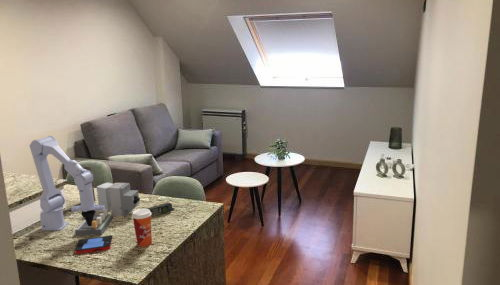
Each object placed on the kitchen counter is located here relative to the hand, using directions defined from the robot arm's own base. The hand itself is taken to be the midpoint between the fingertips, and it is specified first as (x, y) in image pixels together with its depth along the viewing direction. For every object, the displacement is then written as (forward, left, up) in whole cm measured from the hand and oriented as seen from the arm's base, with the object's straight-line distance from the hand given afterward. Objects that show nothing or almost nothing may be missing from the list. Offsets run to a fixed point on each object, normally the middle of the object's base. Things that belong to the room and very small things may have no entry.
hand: (90, 225), depth 186 cm
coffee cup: (+27, -11, -4) cm, 30 cm away
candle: (-16, +38, -4) cm, 41 cm away
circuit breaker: (+10, +22, -4) cm, 24 cm away
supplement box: (-2, +30, -4) cm, 30 cm away
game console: (+6, -12, -5) cm, 14 cm away
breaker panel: (-1, +7, -4) cm, 8 cm away
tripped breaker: (+2, 0, -1) cm, 2 cm away
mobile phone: (+28, +20, -4) cm, 35 cm away
